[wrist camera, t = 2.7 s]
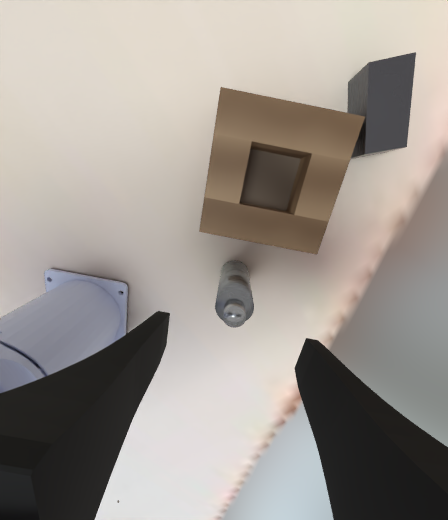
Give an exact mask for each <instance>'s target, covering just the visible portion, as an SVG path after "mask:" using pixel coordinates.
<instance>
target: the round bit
mask: <svg viewBox="0 0 448 520" xmlns="http://www.w3.org/2000/svg"><path fill="white" fill-rule="evenodd" d="M215 309H216V313H217V315H218V316H219V317H220V318H221V319H222V320H223V321H224V322H225V323H226V324H227V325H228V326H230V327H239V326H241V325H243V324H244V322H245V321H246V320H248V319H249V318H250V317H251V315H252V313H253V310H254V304H253V298H252V291H251V285H250V279H249V273H248V269H247V267H246V266H245V264H243V263H242V262H240V261H230V262H227V263H226V264H225V265H224V266H223V267H222V270H221V275H220V281H219V287H218V293H217V299H216V305H215Z"/></svg>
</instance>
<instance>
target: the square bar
mask: <svg viewBox="0 0 448 520" xmlns="http://www.w3.org/2000/svg"><path fill="white" fill-rule="evenodd" d="M415 57H416V52H415V53H410V54H406V55H401V56H397V57H392V58H388V59H383V60H378V61H374V62H369V63H368V64H367V65H366V66H365V67H364V68H363V69H362V70H361V71H360V72H359V73H357V74H356V75H355V76H354V77H353V78H352V79H351V80H350V81H349V82H348V113H350V114H355V115H359V116H364V117H365V119H364V121H363V124H362V127H361V130H360V133H359V136H358V139H357V141H356V144H355V147H354V150H353V153H352V156H351V159H352V158H357V157H363V156H369V155H374V154H380V153H385V152H389V151H392V150H396V149H400V148H404V147H407V138H408V128H409V118H410V107H411V97H412V87H413V77H414V67H415Z"/></svg>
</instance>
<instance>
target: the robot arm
mask: <svg viewBox="0 0 448 520" xmlns="http://www.w3.org/2000/svg"><path fill="white" fill-rule="evenodd" d="M44 276H45V285H46V293H45V294H43V295H41V296H39V297H38V298H36V299H34V300H32V301H30V302H28V303H27V304H25V305H23V306H21V307H19V308H17V309H16V310H14V311H12V312H10V313H8V314H7V315H5V316H3V317H1V318H0V520H94V519H95V517H96V514H97V511H98V508H99V506H100V503H101V500H102V498H103V495H104V492H105V489H106V487H107V484H108V481H109V479H110V476H111V473H112V471H113V468H114V466H115V463H116V460H117V458H118V455H119V453H120V450H121V447H122V445H123V442H124V440H125V437H126V435H127V432H128V430H129V427H130V424H131V422H132V419H133V417H134V415H135V413H136V411H137V408H138V406H139V404H140V402H141V400H142V398H143V396H144V394H145V392H146V390H147V388H148V386H149V384H150V382H151V380H152V378H153V376H154V374H155V372H156V370H157V368H158V366H159V364H160V361H161V358H162V356H163V353H164V350H165V347H166V343H167V334H168V325H169V316H170V313H166V312H161V311H158V312H156V313H155V314H153V315H152V316H151V317H149V318H148V319H147V320H145V321H144V322H143V323H141V324H140V325H139V326H137V327H136V328H135V329H133V330H132V331H130V332H129V333H127V334H126V322H127V295H128V286H127V284H125V283H123V282H119V281H113V280H108V279H103V278H98V277H92V276H87V275H82V274H76V273H71V272H66V271H61V270H55V269H48V270H46V271H45V272H44ZM51 278H52V279H51ZM120 291H123V293H121V292H120ZM295 373H296V378H297V383H298V388H299V392H300V395H301V398H302V401H303V404H304V407H305V410H306V413H307V416H308V419H309V422H310V425H311V428H312V431H313V434H314V438H315V441H316V444H317V448H318V451H319V455H320V459H321V463H322V467H323V472H324V476H325V480H326V485H327V490H328V494H329V499H330V504H331V508H332V513H333V518H334V520H448V447H447V446H445V445H444V444H442V443H440V442H439V441H438V440H436V439H435V438H433V437H432V436H431V435H429V434H428V433H426V432H425V431H424V430H422V429H421V428H419V427H418V426H416V425H415V424H414V423H412V422H411V421H410V420H408V419H407V418H405V417H404V416H403V415H402V414H400V413H399V412H398V411H397V410H395V409H394V408H393V407H392V406H390V405H389V404H388V403H386V402H385V401H384V400H383V399H381V398H380V397H379V396H378V395H377V394H376V393H375V392H373V391H372V390H371V389H370V388H369V387H368V386H366V385H365V384H364V383H363V382H362V381H361V380H360V379H359V378H358V377H356V376H355V375H354V374H353V373H352V372H351V371H350V370H349V369H348V368H347V367H345V365H344V364H342V362H341V361H339V360H338V359H337V358H336V357H335V356H334V355H333V354H332V353H331V352H330V351H329V350H328V349H327V348H326V347H325V346H324V345H323V344H321V343H320V342H319V341H318V340H313V339H308V338H306V340H305V343H304V345H303V348H302V350H301V353H300V356H299V358H298V361H297V364H296V366H295Z"/></svg>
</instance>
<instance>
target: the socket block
mask: <svg viewBox="0 0 448 520" xmlns="http://www.w3.org/2000/svg"><path fill="white" fill-rule="evenodd" d="M364 119H365V117H364V116H359V115H355V114H350V113H345V112H340V111H335V110H330V109H325V108H320V107H315V106H310V105H306V104H301V103H296V102H291V101H286V100H281V99H276V98H271V97H266V96H261V95H256V94H252V93H247V92H242V91H237V90H232V89H227V88H222V87H221V89H220V96H219V102H218V109H217V116H216V123H215V129H214V136H213V143H212V150H211V156H210V163H209V170H208V176H207V183H206V190H205V197H204V203H203V210H202V217H201V224H200V230H199V232H204V233H209V234H214V235H219V236H225V237H230V238H235V239H240V240H245V241H250V242H256V243H261V244H266V245H271V246H276V247H281V248H286V249H292V250H297V251H302V252H307V253H312V254H317V253H318V250H319V247H320V244H321V241H322V239H323V236H324V233H325V230H326V227H327V224H328V221H329V219H330V216H331V213H332V210H333V207H334V204H335V201H336V199H337V196H338V193H339V190H340V187H341V184H342V181H343V179H344V176H345V173H346V170H347V167H348V164H349V161H350V159H351V156H352V153H353V150H354V147H355V144H356V141H357V139H358V136H359V133H360V130H361V127H362V124H363V121H364Z"/></svg>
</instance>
